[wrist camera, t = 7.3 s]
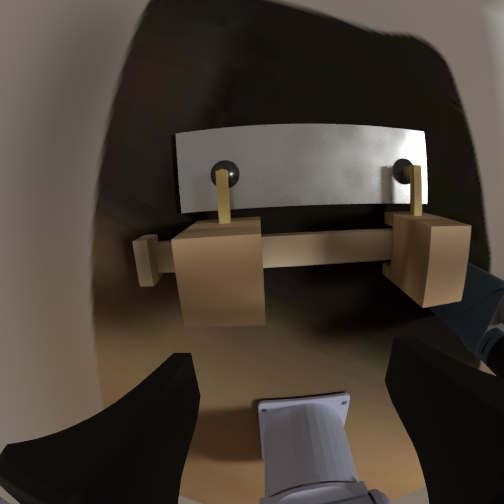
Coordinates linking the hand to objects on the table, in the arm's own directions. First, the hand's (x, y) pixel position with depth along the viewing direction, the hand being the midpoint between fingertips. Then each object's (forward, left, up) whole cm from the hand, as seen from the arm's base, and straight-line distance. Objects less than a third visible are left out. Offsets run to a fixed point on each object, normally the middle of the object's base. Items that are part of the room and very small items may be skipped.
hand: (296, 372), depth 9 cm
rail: (+2, -2, -10) cm, 11 cm away
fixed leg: (+3, -9, -10) cm, 14 cm away
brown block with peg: (+3, +3, -10) cm, 11 cm away
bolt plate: (+7, -3, -10) cm, 13 cm away
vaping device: (-2, -14, -11) cm, 18 cm away
